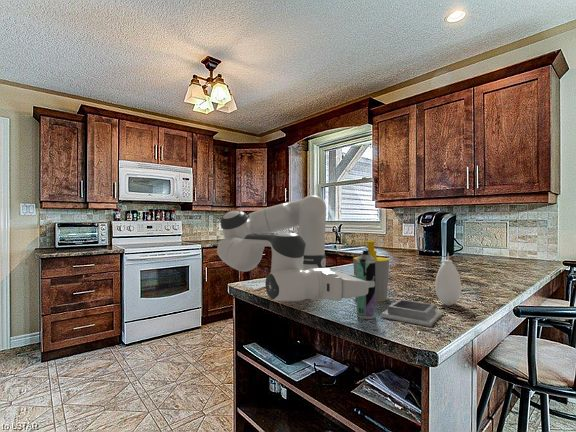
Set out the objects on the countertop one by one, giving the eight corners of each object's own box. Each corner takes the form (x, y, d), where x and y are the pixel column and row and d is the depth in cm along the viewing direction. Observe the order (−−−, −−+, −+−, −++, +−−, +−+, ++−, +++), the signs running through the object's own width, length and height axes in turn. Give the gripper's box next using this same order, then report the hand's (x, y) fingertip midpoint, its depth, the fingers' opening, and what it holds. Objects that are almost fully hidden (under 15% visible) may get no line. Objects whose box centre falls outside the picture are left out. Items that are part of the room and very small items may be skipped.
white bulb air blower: (446, 300, 118) (446, 251, 118) (465, 306, 111) (466, 253, 111) (430, 303, 115) (430, 251, 115) (450, 308, 108) (450, 254, 108)
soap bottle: (352, 293, 130) (352, 239, 130) (386, 294, 128) (387, 240, 128) (353, 301, 117) (353, 242, 117) (391, 303, 115) (391, 242, 115)
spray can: (375, 319, 96) (376, 251, 96) (356, 318, 97) (357, 250, 97) (374, 314, 101) (374, 249, 101) (356, 313, 102) (356, 249, 102)
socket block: (381, 317, 98) (381, 306, 98) (396, 307, 109) (396, 297, 109) (430, 326, 90) (430, 315, 90) (442, 314, 101) (442, 304, 101)
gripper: (308, 286, 104) (347, 284, 109) (339, 302, 85) (384, 298, 89) (308, 267, 104) (347, 265, 109) (339, 278, 85) (384, 275, 89)
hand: (364, 280), depth 99 cm, fingers open, 8 cm apart
